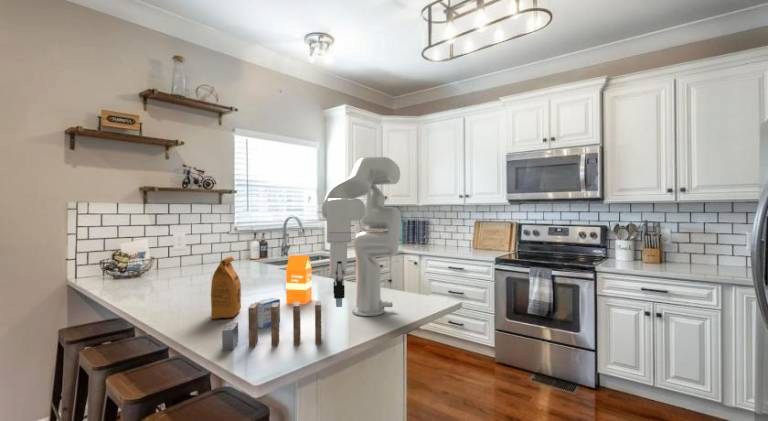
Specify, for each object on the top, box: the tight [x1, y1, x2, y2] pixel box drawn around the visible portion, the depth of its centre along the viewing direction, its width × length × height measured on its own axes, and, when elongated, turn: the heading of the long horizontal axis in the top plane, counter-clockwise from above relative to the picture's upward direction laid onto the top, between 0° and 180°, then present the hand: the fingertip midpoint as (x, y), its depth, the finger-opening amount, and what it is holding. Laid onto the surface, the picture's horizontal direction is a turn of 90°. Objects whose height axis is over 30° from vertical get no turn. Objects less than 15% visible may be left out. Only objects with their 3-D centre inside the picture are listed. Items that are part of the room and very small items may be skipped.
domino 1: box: [247, 302, 259, 349], centre depth 117 cm, size 2×5×12 cm, turn 9°
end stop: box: [221, 321, 239, 352], centre depth 116 cm, size 3×7×6 cm, turn 9°
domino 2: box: [270, 302, 280, 348], centre depth 118 cm, size 2×5×12 cm, turn 9°
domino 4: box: [314, 300, 322, 345], centre depth 120 cm, size 2×5×12 cm, turn 9°
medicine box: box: [254, 297, 281, 330], centre depth 136 cm, size 8×4×9 cm, turn 148°
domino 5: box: [335, 273, 343, 308], centre depth 121 cm, size 2×5×12 cm, turn 9°
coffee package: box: [210, 255, 242, 320], centre depth 148 cm, size 10×12×22 cm
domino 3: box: [292, 302, 302, 346], centre depth 119 cm, size 2×5×12 cm, turn 9°
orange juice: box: [285, 254, 313, 305], centre depth 168 cm, size 8×9×20 cm
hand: (338, 295), depth 121 cm, fingers closed on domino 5, 4 cm apart
